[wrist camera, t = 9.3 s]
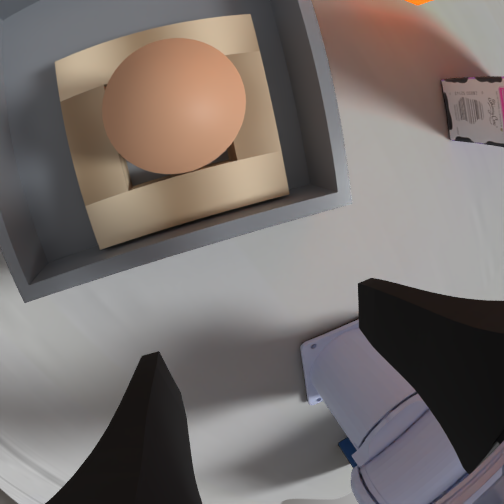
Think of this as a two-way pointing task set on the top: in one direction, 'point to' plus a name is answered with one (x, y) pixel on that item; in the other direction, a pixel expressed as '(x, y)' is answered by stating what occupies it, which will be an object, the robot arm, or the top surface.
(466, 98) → the candy box
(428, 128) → the top surface
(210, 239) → the tray
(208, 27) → the plate
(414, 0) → the orange juice
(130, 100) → the peg
